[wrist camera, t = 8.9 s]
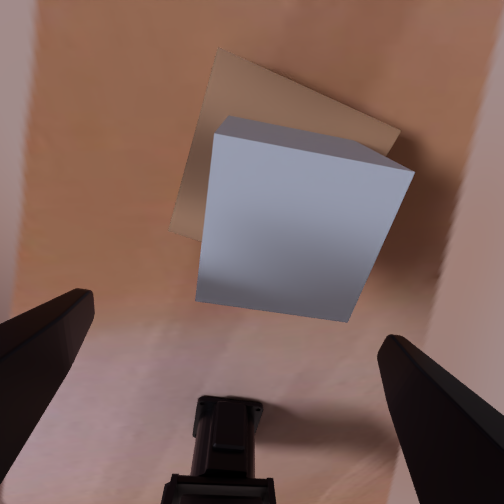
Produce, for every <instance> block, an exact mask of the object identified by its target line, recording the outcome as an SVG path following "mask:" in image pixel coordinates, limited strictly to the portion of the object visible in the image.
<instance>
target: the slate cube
mask: <svg viewBox="0 0 504 504" xmlns="http://www.w3.org/2000/svg"><path fill="white" fill-rule="evenodd" d="M414 174H415V172H414V171H412V170H410V169H408V168H406V167H404V166H402V165H400V164H399V163H397V162H395V161H393V160H391V159H389V158H387V157H385V156H383V155H381V154H379V153H377V152H375V151H373V150H372V149H370V148H368V147H366V146H364V145H362V144H360V143H358V142H356V141H354V140H350V139H344V138H339V137H334V136H329V135H324V134H319V133H314V132H309V131H304V130H299V129H294V128H289V127H284V126H279V125H274V124H269V123H264V122H259V121H254V120H249V119H244V118H239V117H234V116H229V115H228V117H227V118H226V119H225V120H224V122H223V123H222V124H221V125H220V127H219V128H218V129H217V130H216V132H215V133H214V140H213V149H212V157H211V166H210V175H209V184H208V193H207V202H206V210H205V219H204V228H203V237H202V246H201V255H200V263H199V272H198V281H197V290H196V299H195V301H198V302H205V303H212V304H219V305H226V306H233V307H241V308H248V309H255V310H262V311H269V312H276V313H283V314H290V315H297V316H304V317H311V318H318V319H326V320H333V321H340V322H347V323H348V321H349V318H350V316H351V314H352V312H353V309H354V307H355V305H356V303H357V301H358V298H359V296H360V294H361V292H362V289H363V287H364V285H365V283H366V280H367V278H368V276H369V274H370V272H371V269H372V267H373V265H374V263H375V260H376V258H377V256H378V254H379V252H380V249H381V247H382V245H383V243H384V240H385V238H386V236H387V234H388V232H389V229H390V227H391V225H392V223H393V220H394V218H395V216H396V214H397V212H398V209H399V207H400V205H401V203H402V200H403V198H404V196H405V194H406V191H407V189H408V187H409V185H410V183H411V180H412V178H413V176H414Z"/></svg>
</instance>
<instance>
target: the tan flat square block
mask: <svg viewBox="0 0 504 504" xmlns="http://www.w3.org/2000/svg"><path fill="white" fill-rule="evenodd" d="M228 115H229V116H234V117H239V118H244V119H249V120H254V121H259V122H264V123H269V124H274V125H279V126H284V127H289V128H294V129H299V130H304V131H309V132H314V133H319V134H324V135H329V136H334V137H339V138H344V139H350V140H354V141H356V142H358V143H360V144H362V145H364V146H366V147H368V148H370V149H372V150H373V151H375V152H377V153H379V154H381V155H383V156H385V157H386V156H387V154H388V152H389V151H390V149H391V147H392V146H393V144H394V142H395V140H396V139H397V137H398V135H399V134H400V132H401V130H399V129H397V128H394V127H392V126H390V125H388V124H386V123H384V122H381V121H379V120H377V119H375V118H373V117H370V116H368V115H366V114H364V113H362V112H360V111H357V110H355V109H353V108H351V107H349V106H346V105H344V104H342V103H340V102H338V101H336V100H333V99H331V98H329V97H327V96H325V95H322V94H320V93H318V92H316V91H314V90H311V89H309V88H307V87H305V86H303V85H301V84H298V83H296V82H294V81H292V80H290V79H287V78H285V77H283V76H281V75H279V74H277V73H274V72H272V71H270V70H268V69H266V68H263V67H261V66H259V65H257V64H255V63H252V62H250V61H248V60H246V59H244V58H242V57H239V56H237V55H235V54H233V53H231V52H228V51H226V50H224V49H222V48H220V47H218V49H217V52H216V56H215V60H214V63H213V67H212V71H211V74H210V78H209V82H208V85H207V89H206V93H205V97H204V100H203V104H202V108H201V111H200V115H199V119H198V122H197V126H196V130H195V133H194V137H193V141H192V144H191V148H190V152H189V156H188V159H187V163H186V167H185V170H184V174H183V178H182V181H181V185H180V189H179V192H178V196H177V200H176V203H175V207H174V211H173V214H172V218H171V222H170V226H169V229H168V231H169V232H172V233H175V234H178V235H182V236H185V237H188V238H191V239H194V240H197V241H200V242H202V237H203V228H204V219H205V210H206V202H207V193H208V184H209V175H210V166H211V157H212V149H213V140H214V133H215V132H216V130H217V129H218V128H219V127H220V125H221V124H222V123H223V122H224V120H225V119H226V118H227V117H228Z"/></svg>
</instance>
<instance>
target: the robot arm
mask: <svg viewBox="0 0 504 504" xmlns="http://www.w3.org/2000/svg"><path fill="white" fill-rule="evenodd" d="M94 314H95V310H94V297H93V292H92V291H91V290H87V289H80V288H76V289H73V290H71V291H69V292H67V293H65V294H63V295H61V296H58V297H56V298H54V299H52V300H50V301H48V302H46V303H44V304H41V305H39V306H37V307H35V308H33V309H31V310H29V311H27V312H24V313H22V314H20V315H18V316H16V317H14V318H12V319H10V320H7V321H5V322H3V323H1V324H0V484H1V483H2V481H3V479H4V478H5V476H6V474H7V473H8V471H9V469H10V468H11V466H12V464H13V463H14V461H15V460H16V458H17V456H18V455H19V453H20V451H21V450H22V448H23V446H24V445H25V443H26V441H27V440H28V438H29V436H30V435H31V433H32V431H33V430H34V428H35V427H36V425H37V423H38V422H39V420H40V418H41V417H42V415H43V413H44V412H45V410H46V408H47V407H48V405H49V403H50V402H51V400H52V398H53V397H54V395H55V394H56V392H57V390H58V389H59V387H60V385H61V384H62V382H63V380H64V379H65V377H66V375H67V374H68V372H69V370H70V368H71V366H72V364H73V362H74V360H75V358H76V356H77V354H78V352H79V349H80V347H81V345H82V343H83V341H84V339H85V336H86V334H87V332H88V330H89V328H90V326H91V324H92V321H93V319H94ZM377 360H378V365H379V370H380V374H381V378H382V383H383V387H384V392H385V396H386V401H387V404H388V408H389V411H390V415H391V418H392V421H393V424H394V427H395V430H396V433H397V436H398V439H399V442H400V445H401V448H402V451H403V454H404V457H405V460H406V463H407V466H408V469H409V472H410V475H411V478H412V481H413V484H414V487H415V490H416V494H417V496H418V500H419V503H420V504H504V415H502V414H501V413H500V412H498V411H497V410H496V409H495V408H493V407H492V406H491V405H490V404H488V403H487V402H486V401H485V400H483V399H482V398H481V397H479V396H478V395H477V394H475V393H474V392H473V391H472V390H470V389H469V388H468V387H467V386H465V385H464V384H463V383H461V382H460V381H459V380H458V379H457V378H455V377H454V376H453V375H451V374H450V373H449V372H447V371H446V370H445V369H444V368H443V367H441V366H440V365H439V364H437V363H436V362H435V361H434V360H432V359H431V358H430V357H429V356H427V355H426V354H425V353H424V352H422V351H421V350H420V349H418V348H417V347H416V346H415V345H413V344H412V343H411V342H410V341H408V340H407V339H406V338H404V337H403V336H400V335H393V334H390V335H388V336H387V337H386V339H385V340H384V342H383V344H382V346H381V348H380V349H379V351H378V354H377ZM262 412H263V405H262V404H261V403H255V402H246V401H237V400H228V399H219V398H209V397H200V398H198V402H197V409H196V415H195V422H194V428H193V437H195V438H196V441H195V448H194V454H193V461H192V467H191V474H190V476H186V475H179V474H172V477H171V481H170V482H169V483H166V484H165V487H164V491H163V496H162V500H161V504H276V497H275V489H274V481H273V478H267V479H256V478H255V439H254V436H255V433H256V430H257V427H258V424H259V421H260V418H261V415H262Z"/></svg>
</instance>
